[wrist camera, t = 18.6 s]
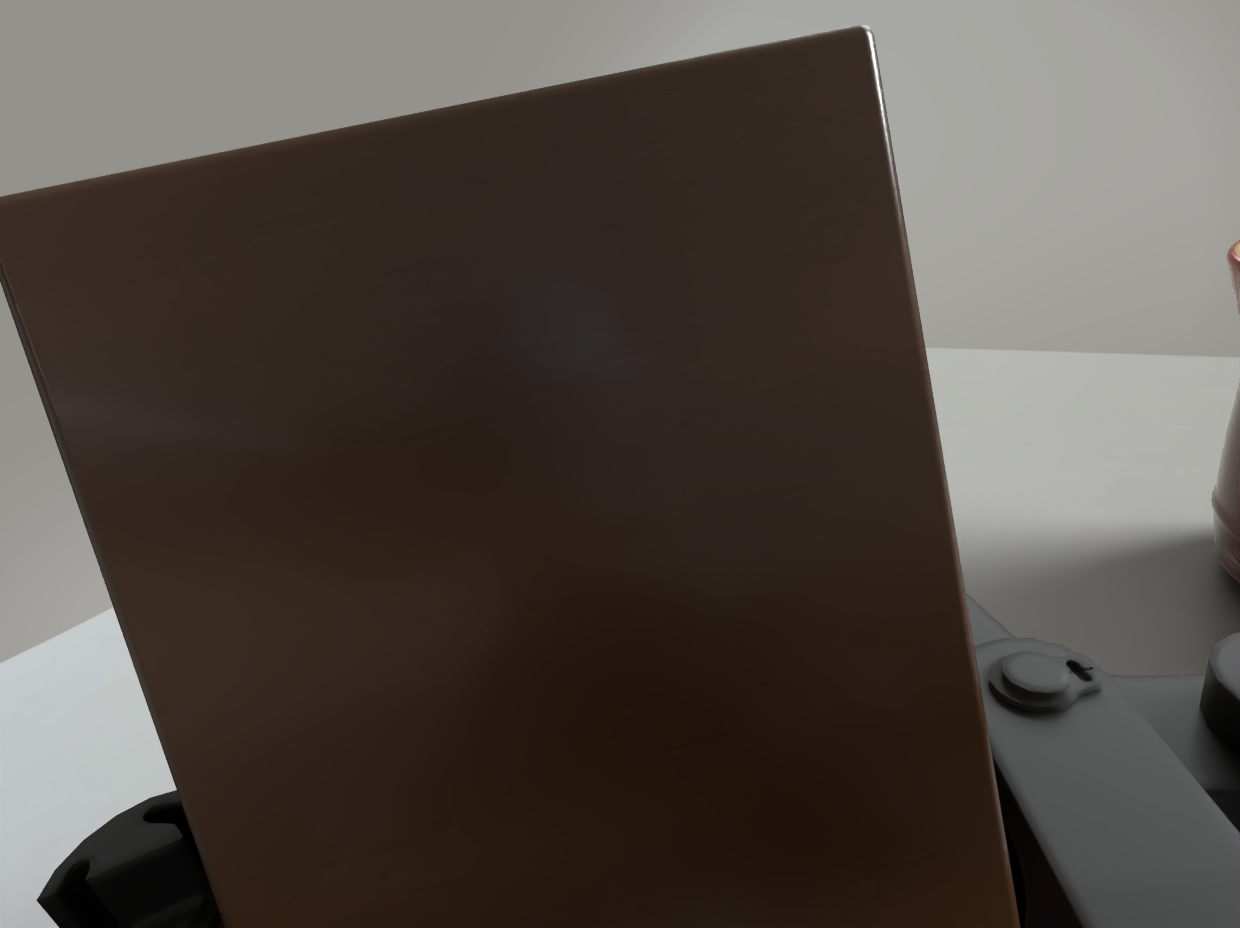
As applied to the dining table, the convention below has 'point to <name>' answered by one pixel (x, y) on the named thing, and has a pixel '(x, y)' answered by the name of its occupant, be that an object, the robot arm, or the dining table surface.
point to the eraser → (534, 507)
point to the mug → (1230, 466)
